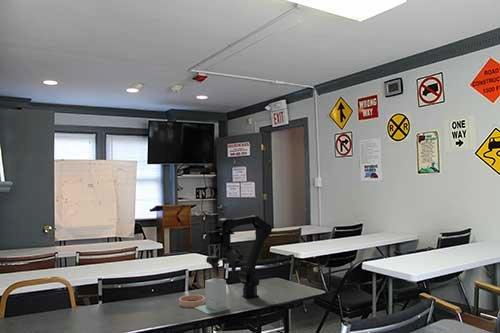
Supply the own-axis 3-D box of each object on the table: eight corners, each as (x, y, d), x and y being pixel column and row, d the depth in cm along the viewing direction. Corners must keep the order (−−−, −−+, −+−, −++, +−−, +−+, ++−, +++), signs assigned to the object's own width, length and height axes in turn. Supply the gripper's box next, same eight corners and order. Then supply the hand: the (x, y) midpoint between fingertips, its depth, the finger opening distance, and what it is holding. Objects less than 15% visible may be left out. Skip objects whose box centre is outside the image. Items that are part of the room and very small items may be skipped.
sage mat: (216, 303, 199) (216, 302, 199) (229, 309, 190) (229, 308, 190) (194, 308, 192) (194, 307, 192) (207, 314, 183) (207, 313, 183)
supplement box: (227, 306, 192) (226, 279, 192) (215, 310, 186) (214, 282, 187) (216, 304, 197) (216, 277, 197) (204, 307, 191) (204, 280, 192)
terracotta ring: (197, 298, 209) (197, 293, 209) (209, 303, 199) (209, 298, 199) (174, 302, 202) (174, 297, 202) (186, 308, 192) (186, 303, 192)
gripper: (217, 247, 191) (217, 281, 190) (249, 243, 202) (250, 275, 201) (205, 245, 200) (206, 277, 199) (236, 241, 211) (237, 271, 210)
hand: (225, 275), depth 202 cm, fingers open, 9 cm apart
